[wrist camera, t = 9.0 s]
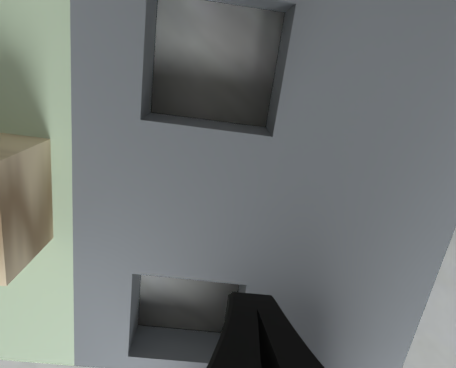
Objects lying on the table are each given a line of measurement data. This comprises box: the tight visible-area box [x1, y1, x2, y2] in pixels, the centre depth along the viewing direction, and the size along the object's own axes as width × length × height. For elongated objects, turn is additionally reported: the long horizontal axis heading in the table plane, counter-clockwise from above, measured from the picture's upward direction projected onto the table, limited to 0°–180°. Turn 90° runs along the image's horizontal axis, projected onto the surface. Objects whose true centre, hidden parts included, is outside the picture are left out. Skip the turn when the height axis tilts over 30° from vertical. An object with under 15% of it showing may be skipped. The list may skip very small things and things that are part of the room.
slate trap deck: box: [0, 0, 456, 368], centre depth 17 cm, size 21×28×6 cm
